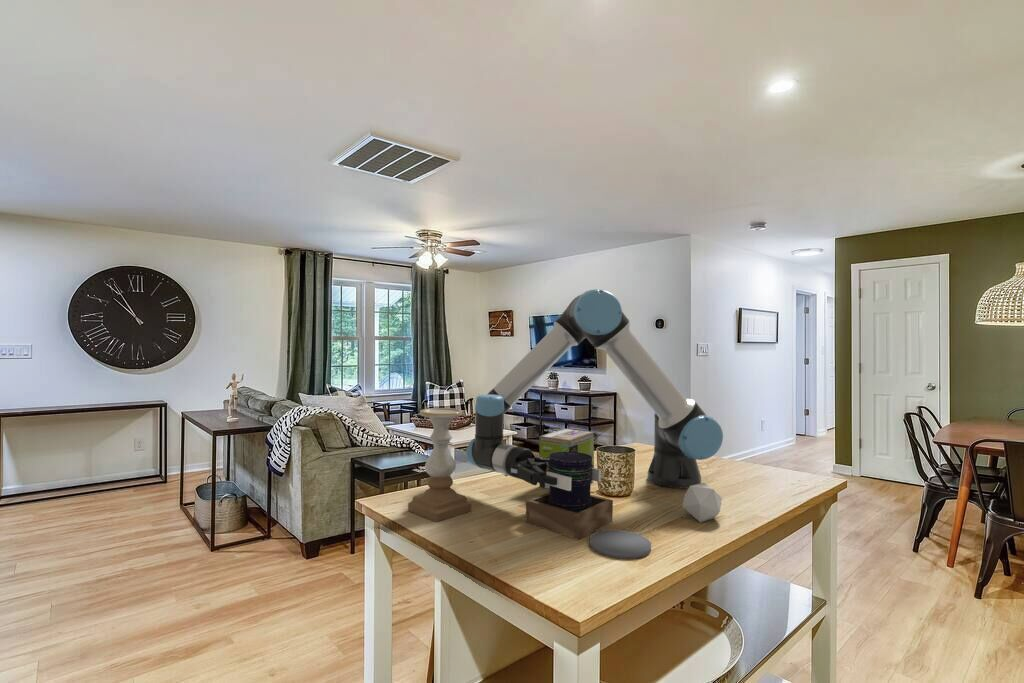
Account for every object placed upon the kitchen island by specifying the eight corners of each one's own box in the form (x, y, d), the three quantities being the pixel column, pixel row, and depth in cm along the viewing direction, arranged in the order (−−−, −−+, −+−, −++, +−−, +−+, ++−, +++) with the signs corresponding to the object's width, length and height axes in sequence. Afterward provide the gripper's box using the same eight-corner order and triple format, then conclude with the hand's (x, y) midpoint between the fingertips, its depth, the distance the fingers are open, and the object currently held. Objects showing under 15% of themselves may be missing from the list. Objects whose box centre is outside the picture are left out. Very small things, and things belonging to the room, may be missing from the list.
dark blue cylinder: (598, 529, 112) (599, 460, 112) (554, 531, 110) (556, 462, 110) (582, 513, 122) (583, 451, 122) (542, 516, 120) (543, 452, 120)
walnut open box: (561, 508, 126) (562, 487, 126) (612, 522, 117) (612, 500, 117) (525, 522, 115) (526, 500, 115) (578, 539, 106) (578, 515, 106)
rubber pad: (608, 530, 112) (609, 525, 112) (661, 545, 104) (661, 540, 104) (578, 546, 103) (578, 541, 103) (633, 564, 95) (633, 559, 95)
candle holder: (406, 510, 122) (408, 410, 122) (442, 500, 130) (444, 406, 130) (435, 522, 115) (437, 415, 115) (472, 510, 123) (474, 411, 123)
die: (699, 512, 127) (677, 481, 126) (732, 502, 122) (708, 469, 121) (695, 534, 120) (671, 502, 119) (729, 524, 115) (704, 490, 115)
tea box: (564, 476, 156) (565, 427, 156) (594, 482, 150) (595, 431, 150) (537, 487, 144) (538, 434, 144) (569, 494, 138) (570, 439, 138)
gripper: (544, 469, 137) (614, 487, 121) (480, 484, 121) (551, 507, 105) (544, 440, 137) (615, 455, 121) (480, 452, 121) (552, 471, 105)
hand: (585, 479), depth 113 cm, fingers closed on dark blue cylinder, 10 cm apart
